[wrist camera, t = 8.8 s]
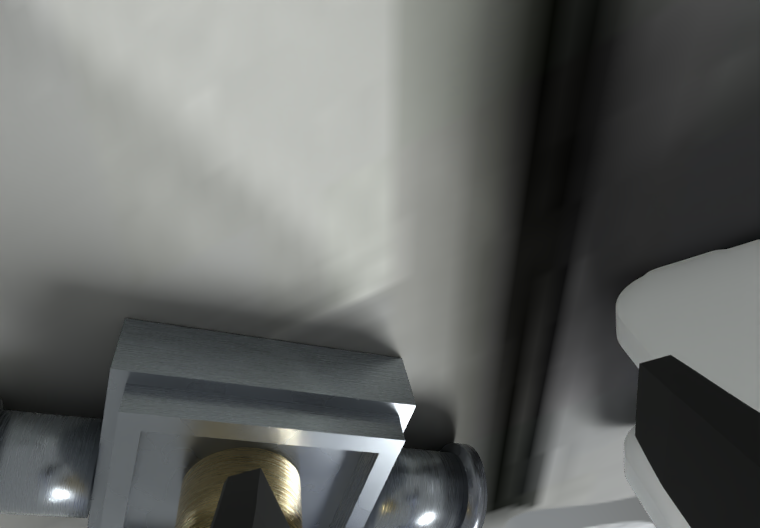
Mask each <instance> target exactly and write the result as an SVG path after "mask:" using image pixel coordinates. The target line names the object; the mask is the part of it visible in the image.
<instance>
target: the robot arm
mask: <svg viewBox="0 0 760 528" xmlns="http://www.w3.org/2000/svg"><path fill="white" fill-rule="evenodd" d="M635 437H636V439H637V441H638V443H639V444H640V446H641V448H642V450H643V452H644V454H645V456H646V458H647V460H648V462H649V463H650V465H651V467H652V469H653V471H654V472H655V474H656V476H657V478H658V479H659V481H660V483H661V485H662V487H663V488H664V489H665V491H666V492H667V494H668V495H669V497H670V498H671V500H672V501H673V503H674V504H675V505H676V507H677V508H678V510H679V511H680V513H681V514H682V516H683V517H684V518H685V520H686V521H687V523H688V524H689V526H690V527H691V528H760V412H758V411H756V410H755V409H753V408H752V407H750V406H748V405H747V404H745V403H744V402H742V401H741V400H739V399H738V398H736V397H735V396H733V395H732V394H730V393H728V392H727V391H725V390H724V389H722V388H721V387H719V386H718V385H716V384H715V383H713V382H712V381H710V380H709V379H707V378H706V377H704V376H703V375H701V374H700V373H698V372H697V371H695V370H694V369H692V368H690V367H689V366H687V365H686V364H684V363H683V362H681V361H680V360H678V359H677V358H675V357H673V356H672V355H668V356H664V357H661V358H657V359H654V360H650V361H646V362H643V363H639V377H638V393H637V410H636V426H635ZM210 528H290V526H289V524H288V522H287V520H286V518H285V516H284V514H283V512H282V510H281V508H280V506H279V504H278V502H277V500H276V498H275V496H274V494H273V492H272V490H271V488H270V485H269V483H268V481H267V479H266V477H265V475H264V473H263V471H262V469H261V468H258V469H254V470H251V471H247V472H243V473H240V474H236V475H233V476H229V477H228V478H227V479H226V480H225V482H224V484H223V488H222V491H221V495H220V498H219V501H218V504H217V508H216V511H215V514H214V517H213V520H212V523H211V526H210Z"/></svg>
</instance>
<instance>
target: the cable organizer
mask: <svg viewBox="0 0 760 528" xmlns="http://www.w3.org/2000/svg"><path fill="white" fill-rule="evenodd" d="M616 336H617V340H618V342H619V344H620V345H621V347H622V348H623V350H624V351H625V352H626V353H627V355H628V356H629V357H630V358H631V360H632V361H633V362H634V364H635V365H636V366H637V367H638V369H639V363H643V362H646V361H650V360H654V359H657V358H661V357H664V356H668V355H672V356H673V357H675V358H677V359H678V360H680V361H681V362H683V363H684V364H686V365H687V366H689V367H690V368H692V369H694V370H695V371H697V372H698V373H700V374H701V375H703V376H704V377H706V378H707V379H709V380H710V381H712V382H713V383H715V384H716V385H718V386H719V387H721V388H722V389H724V390H725V391H727V392H728V393H730V394H732V395H733V396H735V397H736V398H738V399H739V400H741V401H742V402H744V403H745V404H747V405H748V406H750V407H752V408H753V409H755V410H756V411H758V412H760V239H758V240H755V241H751V242H748V243H745V244H742V245H739V246H735V247H732V248H729V249H720V250H714V251H711V252H707V253H704V254H701V255H698V256H695V257H691V258H688V259H685V260H682V261H678V262H675V263H672V264H669V265H666V266H662V267H659V268H656V269H653V270H651V271H649V272H647V273H646V274H645V275H644V276H642V277H640V278H639V279H637V280H635V281H633V282H632V283H631V284H629V285H628V286H627V287H626V288H625V289H624V290H623V291H622V292H621V293H620V295H619V297H618V298H617V301H616ZM635 426H636V425H635ZM635 426H634V427H633V428H632V429H631V430H630V431H629V433H628V434H627V436H626V438H625V442H624V472H625V477H626V479H627V481H628V483H629V484H630V486H631V488H632V489H633V491H634V492H635V494H636V496H637V497H638V499H639V500H640V502H641V504H642V505H643V507H644V509H645V510H646V512H647V514H648V515H649V517H650V518H651V520H652V522H653V523H654V525H655V526H656V528H691V527H690V526H689V524H688V523H687V521H686V520H685V518H684V517H683V516H682V514H681V513H680V511H679V510H678V508H677V507H676V505H675V504H674V503H673V501H672V500H671V498H670V497H669V495H668V494H667V492H666V491H665V489H664V488H663V487H662V485H661V483H660V481H659V479H658V478H657V476H656V474H655V472H654V471H653V469H652V467H651V465H650V463H649V462H648V460H647V458H646V456H645V454H644V452H643V450H642V448H641V446H640V444H639V443H638V441H637V439H636V437H635Z"/></svg>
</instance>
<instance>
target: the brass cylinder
mask: <svg viewBox="0 0 760 528" xmlns="http://www.w3.org/2000/svg"><path fill="white" fill-rule="evenodd" d="M258 468H261V469H262V471H263V473H264V475H265V477H266V479H267V481H268V483H269V485H270V488H271V490H272V492H273V494H274V496H275V498H276V500H277V502H278V504H279V506H280V508H281V510H282V512H283V514H284V516H285V518H286V520H287V522H288V524H289V526H290V528H303V525H302V505H301V484H300V477H299V474H298V472H297V470H296V469H295V467H294V466H293V465H292V464H291V463H290V462H289V461H288V460H287V459H285V458H284V457H282V456H280V455H278V454H276V453H274V452H271V451H268V450H264V449H259V448H244V447H242V448H232V449H226V450H222V451H218V452H216V453H213V454H210V455H208V456H206V457H204V458H203V459H201V460H199V461H198V462H197V463H195V464H194V465H193V466H192V467H191V468H190V469H189V470H188V472H187V473H186V475H185V476H184V479H183V481H182V485H181V491H180V498H179V504H178V511H177V517H176V524H175V528H210V526H211V523H212V520H213V517H214V514H215V511H216V508H217V504H218V501H219V498H220V495H221V491H222V488H223V484H224V482H225V480H226V479H227V478H228V477H229V476H233V475H236V474H240V473H243V472H247V471H251V470H254V469H258Z"/></svg>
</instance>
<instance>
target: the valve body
mask: <svg viewBox="0 0 760 528" xmlns="http://www.w3.org/2000/svg"><path fill="white" fill-rule="evenodd" d="M415 407H416V403H415V400H414V396H413V393H412V390H411V386H410V383H409V380H408V377H407V373H406V370H405V367H404V363H403V360H402V358H396V357H389V356H382V355H375V354H368V353H361V352H354V351H347V350H340V349H334V348H327V347H320V346H313V345H306V344H299V343H292V342H285V341H278V340H272V339H265V338H258V337H251V336H244V335H237V334H230V333H223V332H216V331H210V330H203V329H196V328H189V327H182V326H175V325H168V324H161V323H154V322H148V321H141V320H134V319H127V318H125V321H124V324H123V328H122V331H121V334H120V338H119V341H118V344H117V348H116V351H115V354H114V358H113V361H112V364H111V368H110V374H109V381H108V388H107V395H106V402H105V409H104V416H103V419H94V418H84V417H73V416H63V415H52V414H42V413H31V412H21V411H10V410H4V409H3V401H2V399H1V398H0V514H17V515H38V516H58V517H79V518H87V516H88V514H89V511H90V514H89V521H88V528H175V524H176V517H177V511H178V504H179V498H180V491H181V485H182V481H183V479H184V476H185V475H186V473H187V472H188V470H189V469H190V468H191V467H192V466H193V465H194V464H195V463H197V462H198V461H199V460H201V459H203V458H204V457H206V456H208V455H210V454H213V453H216V452H218V451H222V450H226V449H232V448H242V447H244V448H259V449H264V450H268V451H271V452H274V453H276V454H278V455H280V456H282V457H284V458H285V459H287V460H288V461H289V462H290V463H291V464H292V465H293V466H294V467H295V469H296V470H297V472H298V474H299V477H300V484H301V505H302V525H303V528H482V526H483V523H484V519H485V514H486V507H487V484H486V477H485V472H484V467H483V464H482V461H481V459H480V457H479V455H478V453H477V452H476V451H475V449H474V448H472V447H471V446H470V445H467V444H459V443H449V444H446V445H445V446H444V447H443V448H442V449H441V450H440V452H439V451H429V450H418V449H408V448H402V447H403V445H404V443H405V437H404V433H403V432H404V430H405V428H406V426H407V424H408V422H409V420H410V418H411V416H412V414H413V411H414V409H415Z"/></svg>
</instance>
